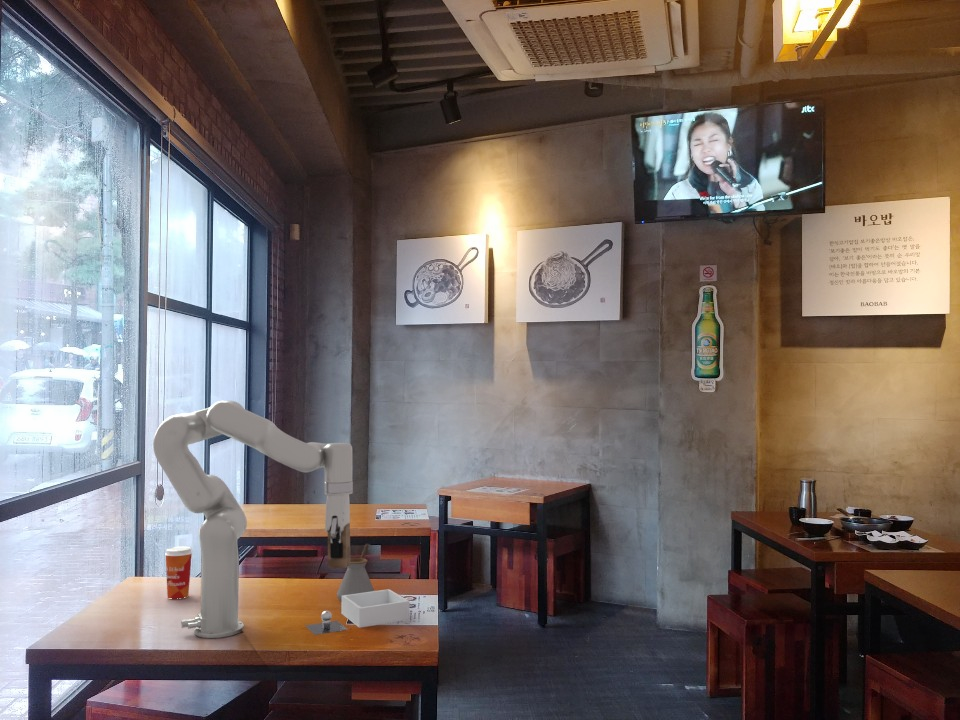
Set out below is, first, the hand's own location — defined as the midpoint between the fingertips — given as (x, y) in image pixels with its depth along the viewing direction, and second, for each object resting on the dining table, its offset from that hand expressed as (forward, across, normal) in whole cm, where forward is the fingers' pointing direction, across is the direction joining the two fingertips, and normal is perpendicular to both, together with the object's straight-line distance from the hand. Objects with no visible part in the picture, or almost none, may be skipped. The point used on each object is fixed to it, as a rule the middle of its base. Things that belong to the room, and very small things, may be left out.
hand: (339, 554), depth 202 cm
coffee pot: (+20, -30, 0) cm, 36 cm away
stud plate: (+20, +2, -3) cm, 20 cm away
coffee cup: (+19, -29, -57) cm, 67 cm away
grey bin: (+20, -8, +8) cm, 23 cm away
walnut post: (+3, 0, 0) cm, 3 cm away
